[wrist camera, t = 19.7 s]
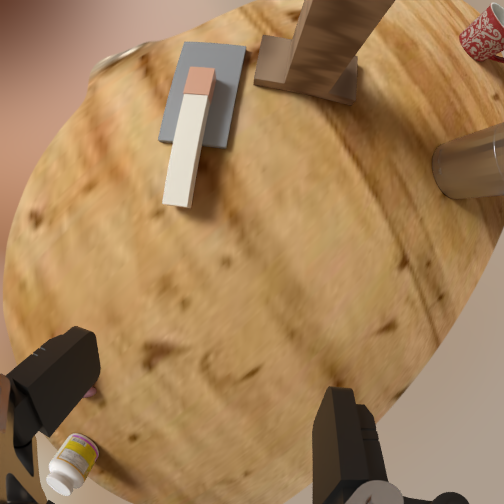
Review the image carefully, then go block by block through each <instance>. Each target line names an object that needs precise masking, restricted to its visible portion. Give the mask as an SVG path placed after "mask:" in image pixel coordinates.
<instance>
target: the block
mask: <svg viewBox="0 0 504 504" xmlns="http://www.w3.org/2000/svg"><path fill="white" fill-rule="evenodd" d="M215 84H216V73H215V68H205V67H190V69H189V72H188V76H187V80H186V84H185V88H184V91H183V94H184V96H183V100H182V105H181V109H180V113H179V118H178V122H177V127H176V131H175V136H174V141H173V146H172V151H171V156H170V161H169V166H168V172H167V177H166V183H165V189H164V195H163V201H162V204H165V205H169V206H177V207H185V208H191V206H192V199H193V193H194V187H195V181H196V175H197V169H198V163H199V158H200V152H201V147H202V142H203V137H204V132H205V127H206V122H207V117H208V112H209V107H210V105H211V102H212V97H213V92H214V88H215Z"/></svg>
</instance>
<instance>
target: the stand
mask: <svg viewBox="0 0 504 504" xmlns="http://www.w3.org/2000/svg"><path fill="white" fill-rule="evenodd" d="M394 1H395V0H304V3H303V7H302V10H301V13H300V16H299V20H298V23H297V26H296V29H295V33H294V36H293V39H292V40H291V39H285V38H280V37H274V36H268V35H263V36H262V41H261V46H260V51H259V56H258V61H257V66H256V71H255V77H254V84H253V85H257V86H264V87H270V88H276V89H281V90H286V91H292V92H296V93H301V94H306V95H310V96H315V97H319V98H323V99H327V100H331V101H335V102H339V103H343V104H347V105H350V106H351V105H352V104H353V103H354V102H355V101H356V88H357V56H355V55H356V53H357V52H358V50H359V49H360V48H361V46H362V45H363V44H364V42H365V41H366V39H367V38H368V37H369V35H370V34H371V32H372V31H373V30H374V28H375V27H376V26H377V24H378V23H379V22H380V20H381V19H382V17H383V16H384V15H385V13H386V12H387V11H388V9H389V8H390V7H391V5H392V4H393V3H394Z"/></svg>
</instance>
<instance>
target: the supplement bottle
mask: <svg viewBox="0 0 504 504" xmlns="http://www.w3.org/2000/svg"><path fill="white" fill-rule="evenodd" d="M98 455H99V451H98V448H97V446H96V445H95V444H94V443H93V442H92V441H91V440H90V439H89V438H87V437H86V436H84V435H82V434H78V433H74V434H71V435H70V436H69V437H68V438H67V439H66V441H65V442H64V443H63V445H62V446H61V448H60V449H59V450H58V452H57V453H56V455H55V456H54V457H53V459H52V460H51V462H50V463H49V469H50V472H51V473H50V474H49V475H48V476H47V478H46V481H47V483H48V484H49V486H50V487H51V488H53V489H54V490H55V491H57V492H58V493H60V494H62V495H65V496H69V495H71V493H72V491H73V488H80V487H81V486H82V485H83V483H84V481H85V480H86V478H87V476H88V474H89V472H90V471H91V469H92V467H93V465H94V463H95V461H96V460H97V458H98Z"/></svg>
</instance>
